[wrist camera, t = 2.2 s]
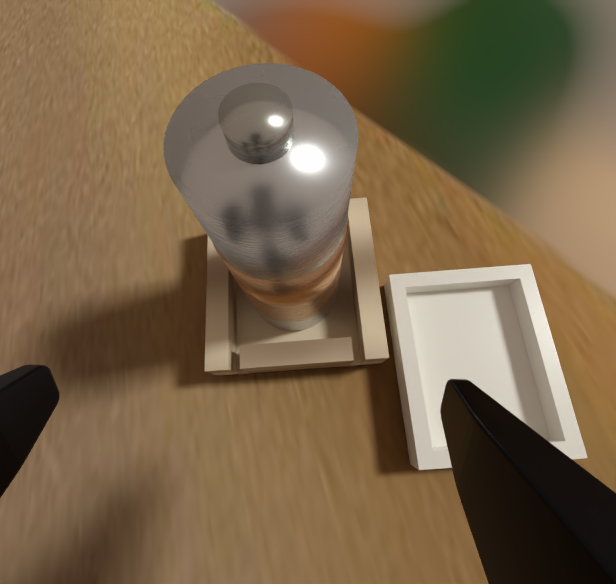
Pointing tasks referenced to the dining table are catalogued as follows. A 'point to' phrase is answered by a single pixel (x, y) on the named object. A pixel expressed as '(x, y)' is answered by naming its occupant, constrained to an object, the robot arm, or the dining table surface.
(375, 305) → the tray
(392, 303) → the tray
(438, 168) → the dining table surface
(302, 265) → the battery cell
